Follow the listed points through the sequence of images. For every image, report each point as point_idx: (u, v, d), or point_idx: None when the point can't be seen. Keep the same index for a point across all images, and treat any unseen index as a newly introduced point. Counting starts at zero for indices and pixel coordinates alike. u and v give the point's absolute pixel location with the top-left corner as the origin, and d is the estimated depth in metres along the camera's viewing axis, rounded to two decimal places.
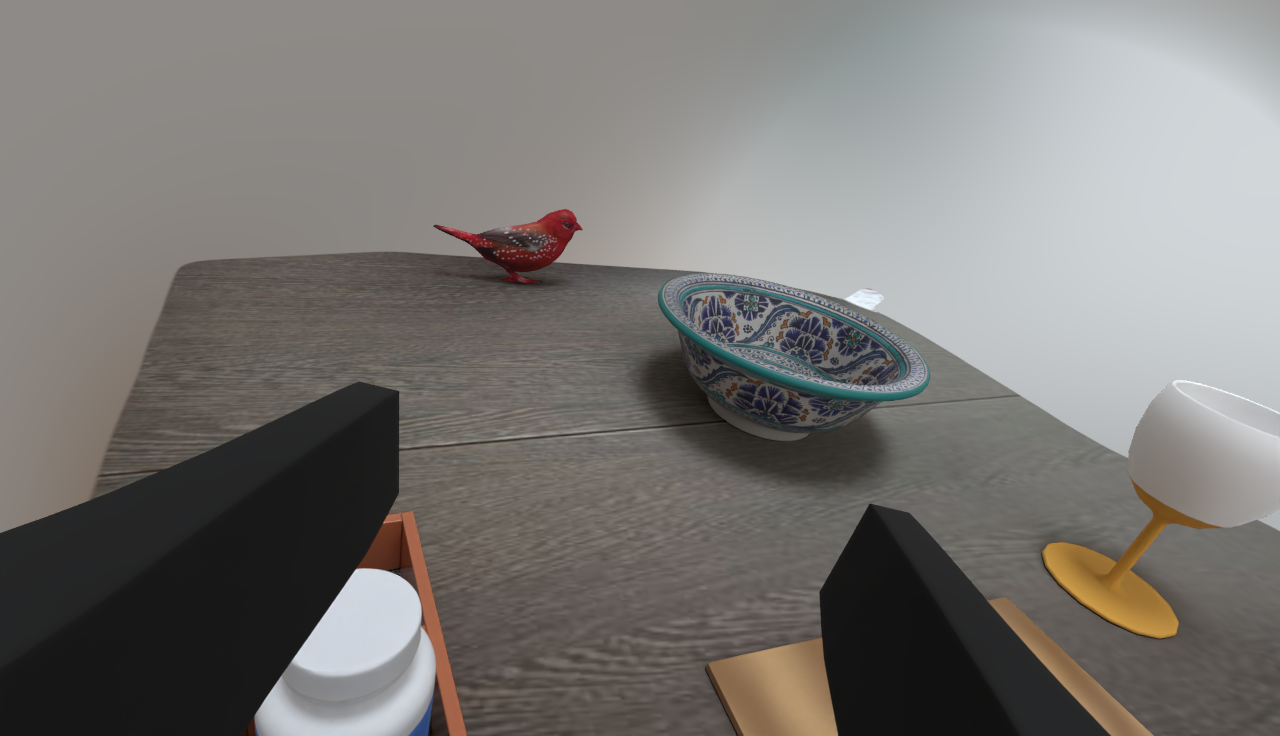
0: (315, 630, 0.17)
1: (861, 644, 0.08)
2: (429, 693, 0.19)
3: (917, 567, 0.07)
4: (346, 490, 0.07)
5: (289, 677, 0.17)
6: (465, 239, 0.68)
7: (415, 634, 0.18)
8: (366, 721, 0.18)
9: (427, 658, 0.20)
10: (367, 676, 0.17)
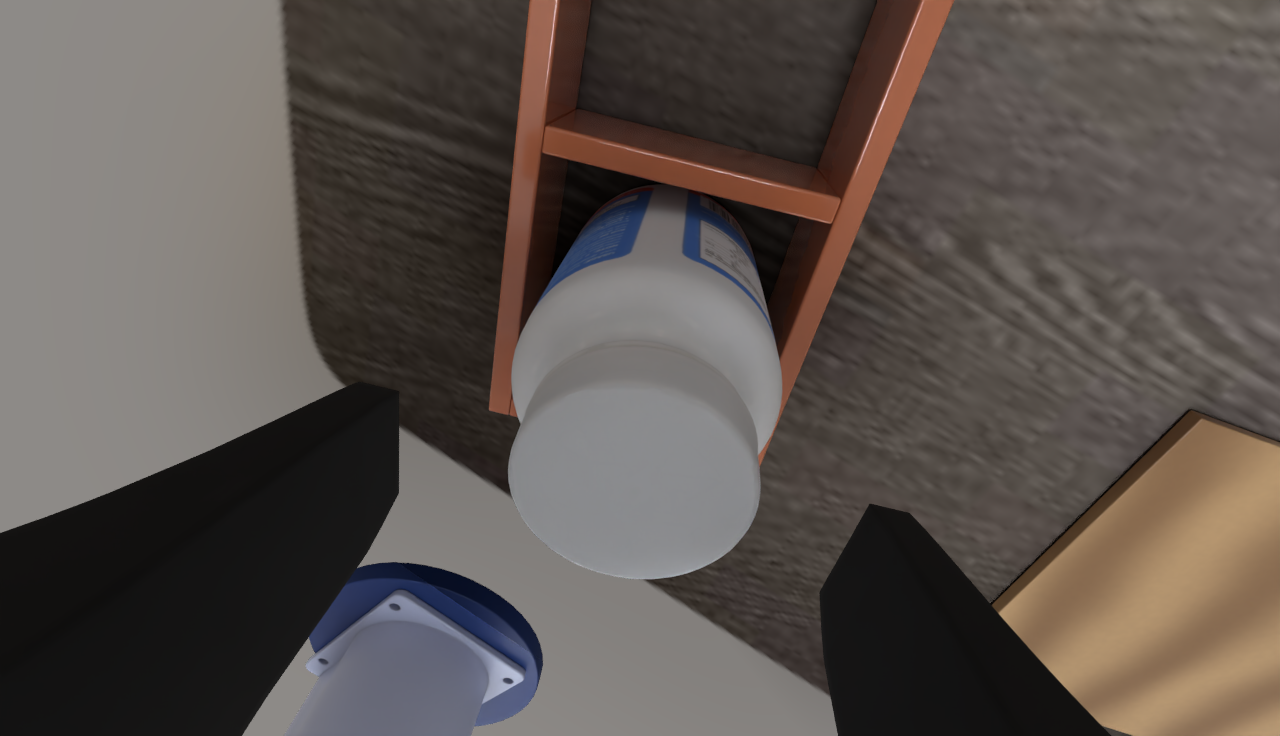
0: (564, 488, 0.09)
1: (860, 644, 0.08)
2: None
3: (917, 567, 0.07)
4: (346, 490, 0.07)
5: None
6: None
7: (714, 557, 0.10)
8: None
9: None
10: None
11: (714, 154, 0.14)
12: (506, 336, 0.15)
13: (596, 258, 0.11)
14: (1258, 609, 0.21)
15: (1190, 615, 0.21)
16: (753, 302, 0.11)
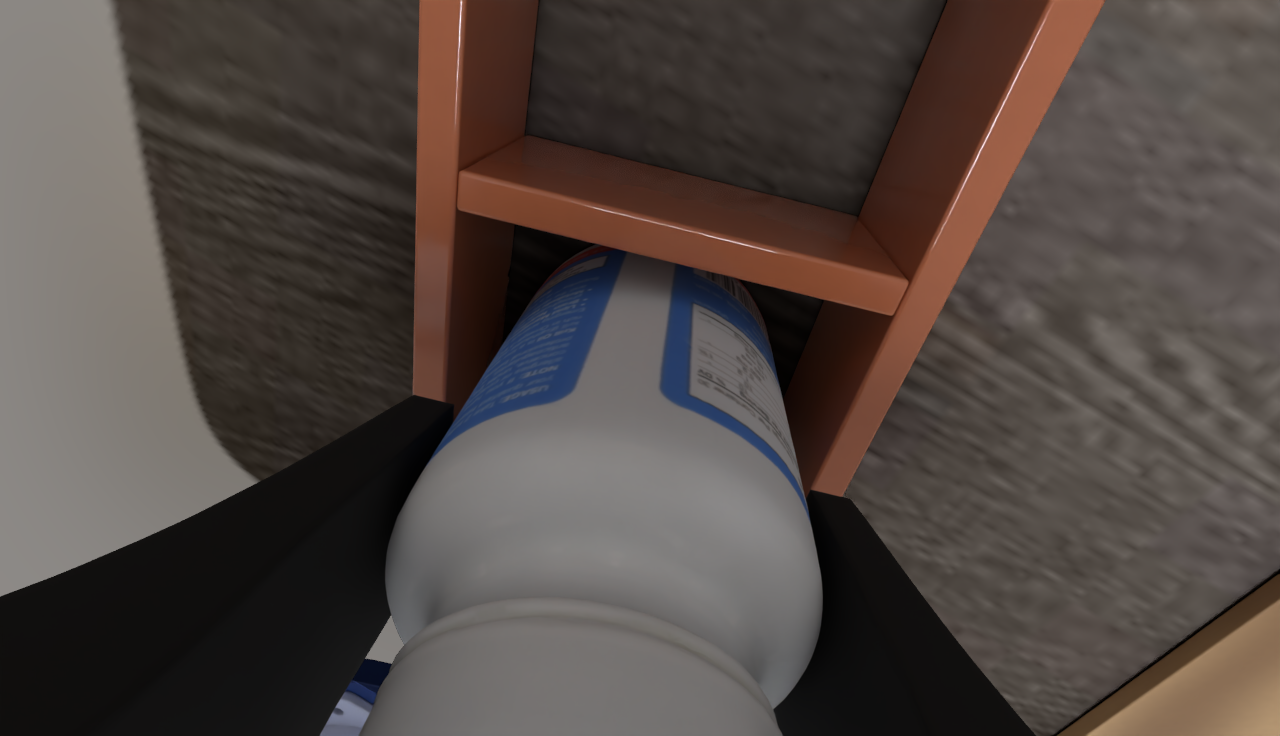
0: None
1: None
2: None
3: (846, 550, 0.07)
4: None
5: None
6: None
7: None
8: None
9: (771, 707, 0.07)
10: None
11: (716, 205, 0.10)
12: None
13: (519, 394, 0.07)
14: None
15: None
16: (776, 469, 0.07)
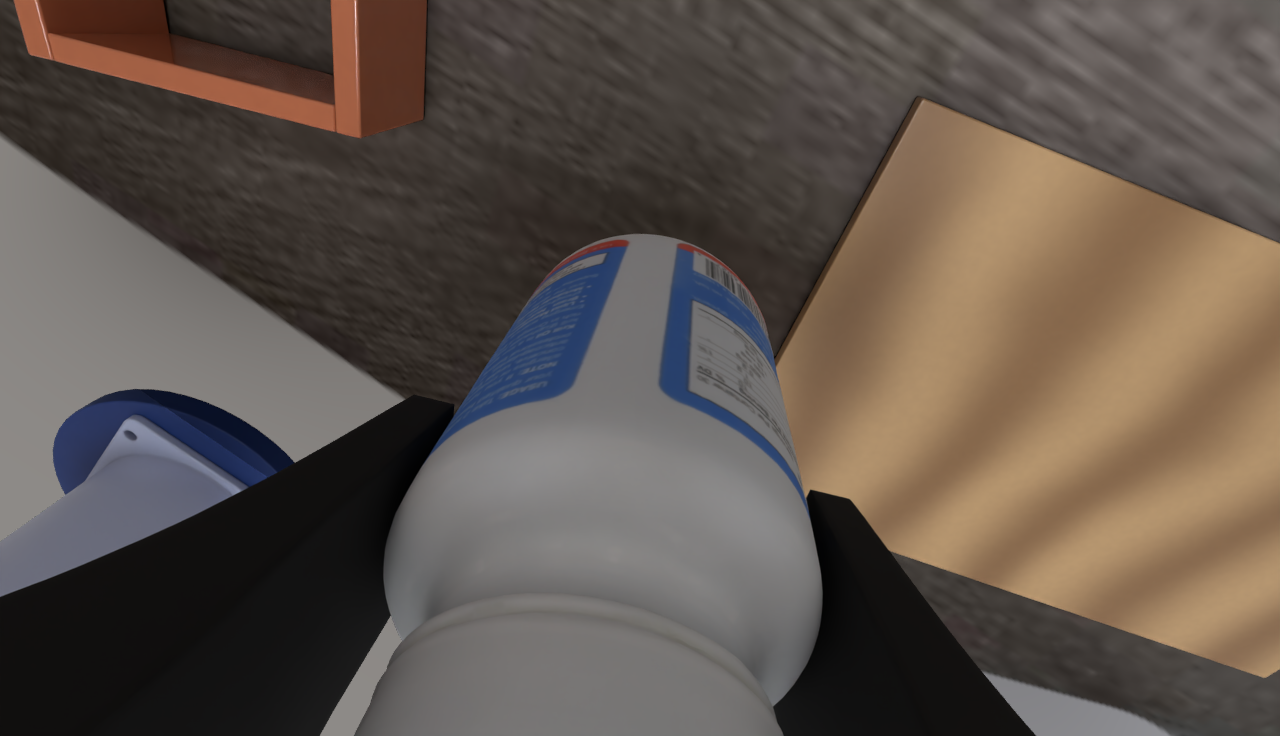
0: None
1: None
2: None
3: (846, 550, 0.07)
4: None
5: None
6: None
7: None
8: None
9: (771, 705, 0.07)
10: None
11: None
12: None
13: (518, 391, 0.07)
14: (1039, 381, 0.18)
15: (966, 394, 0.18)
16: (775, 465, 0.07)
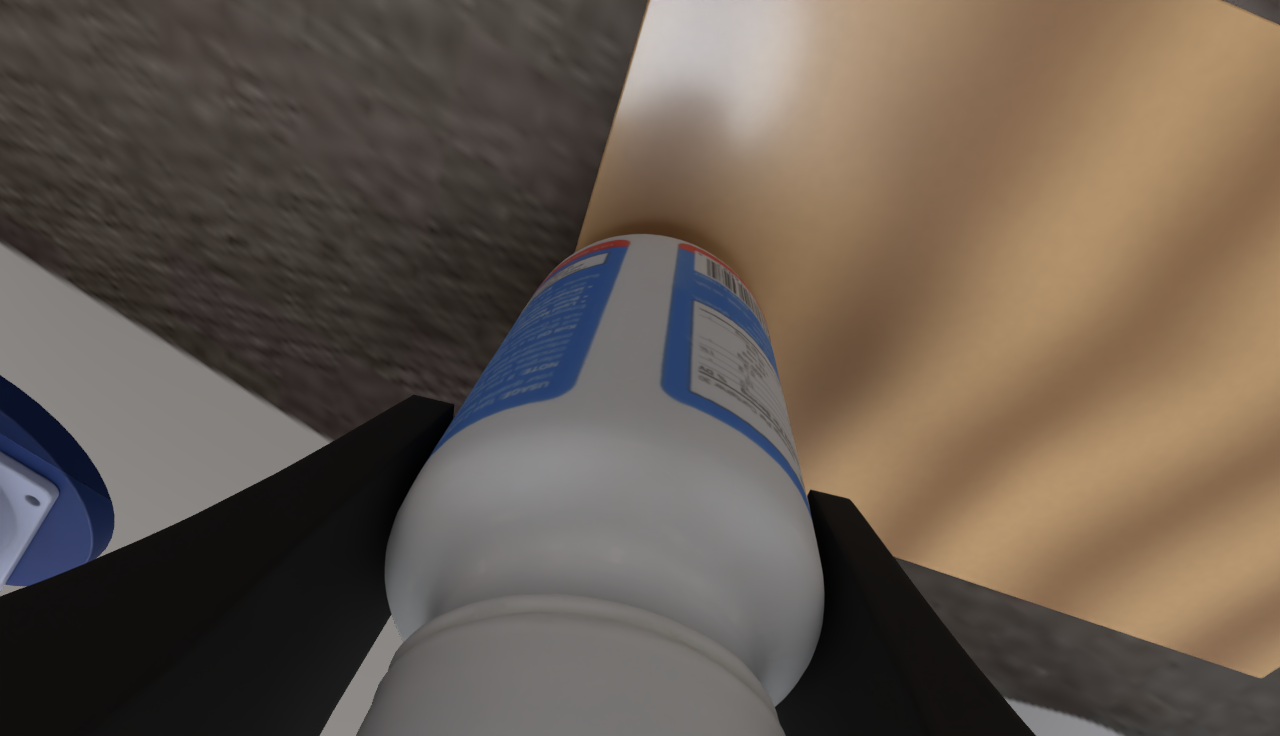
0: None
1: None
2: None
3: (846, 550, 0.07)
4: None
5: None
6: None
7: None
8: None
9: None
10: None
11: None
12: None
13: (519, 392, 0.07)
14: (934, 263, 0.13)
15: (836, 285, 0.13)
16: (777, 466, 0.07)
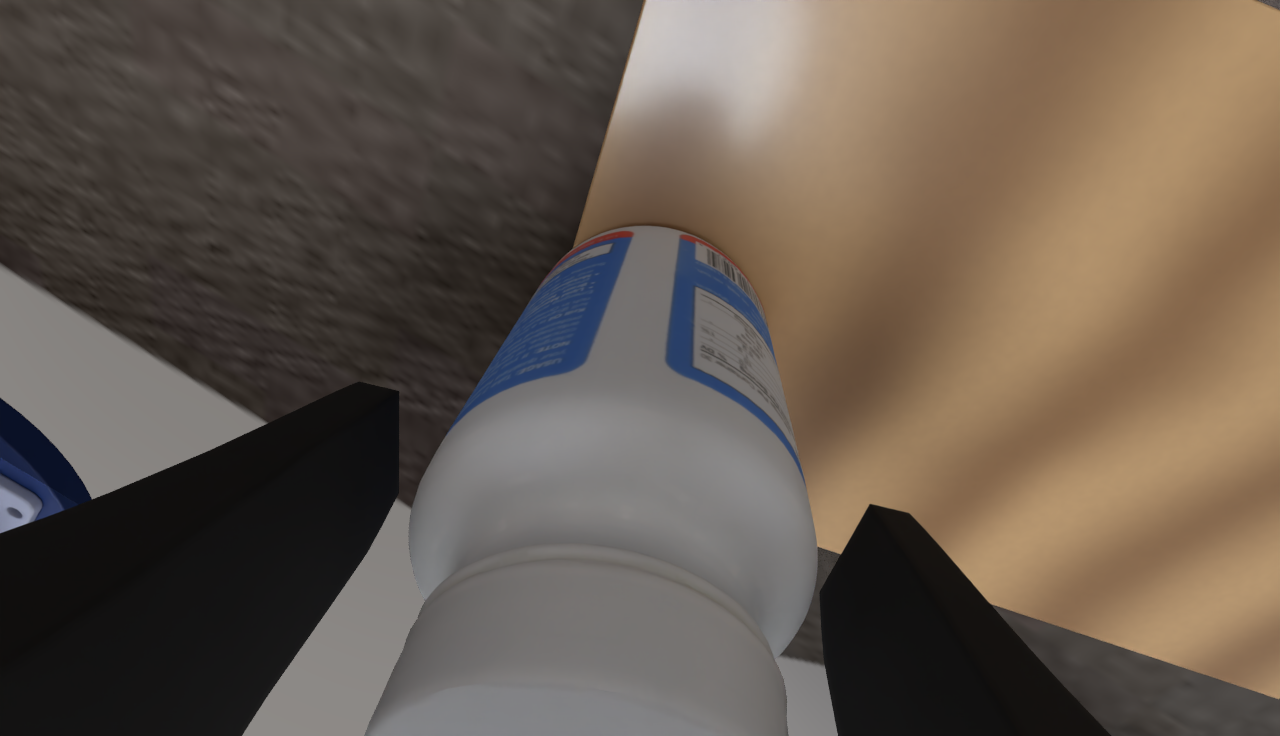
0: None
1: (861, 643, 0.08)
2: None
3: (917, 567, 0.07)
4: (346, 490, 0.07)
5: None
6: None
7: None
8: None
9: None
10: None
11: None
12: None
13: (534, 367, 0.07)
14: (945, 273, 0.12)
15: (842, 296, 0.13)
16: (774, 436, 0.07)
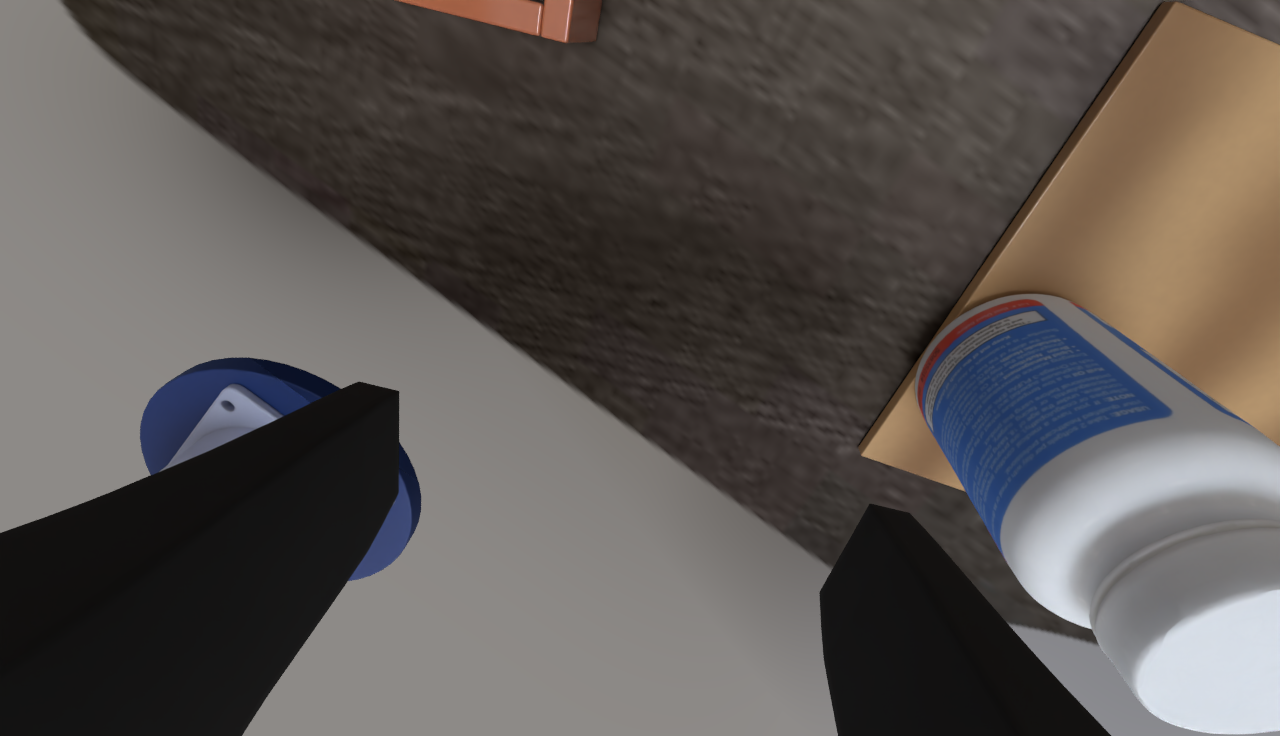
0: (1204, 662, 0.10)
1: (861, 644, 0.08)
2: None
3: (917, 567, 0.07)
4: (346, 490, 0.07)
5: (1105, 637, 0.11)
6: None
7: None
8: None
9: None
10: None
11: None
12: None
13: (1127, 411, 0.12)
14: (1253, 328, 0.17)
15: (1167, 344, 0.17)
16: None
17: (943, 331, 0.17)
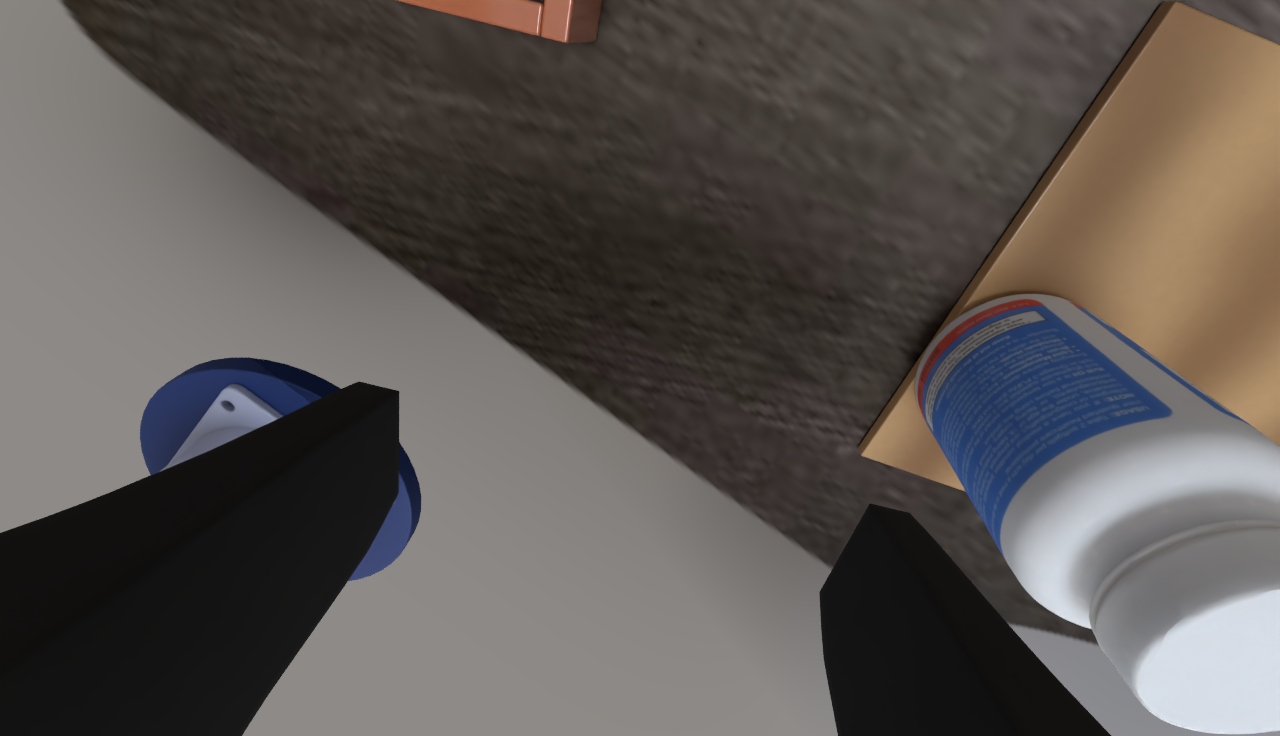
0: (1204, 662, 0.10)
1: (861, 644, 0.08)
2: None
3: (917, 567, 0.07)
4: (346, 490, 0.07)
5: (1105, 637, 0.11)
6: None
7: None
8: None
9: None
10: None
11: None
12: None
13: (1127, 411, 0.12)
14: (1253, 328, 0.17)
15: (1167, 344, 0.17)
16: None
17: (943, 331, 0.17)
